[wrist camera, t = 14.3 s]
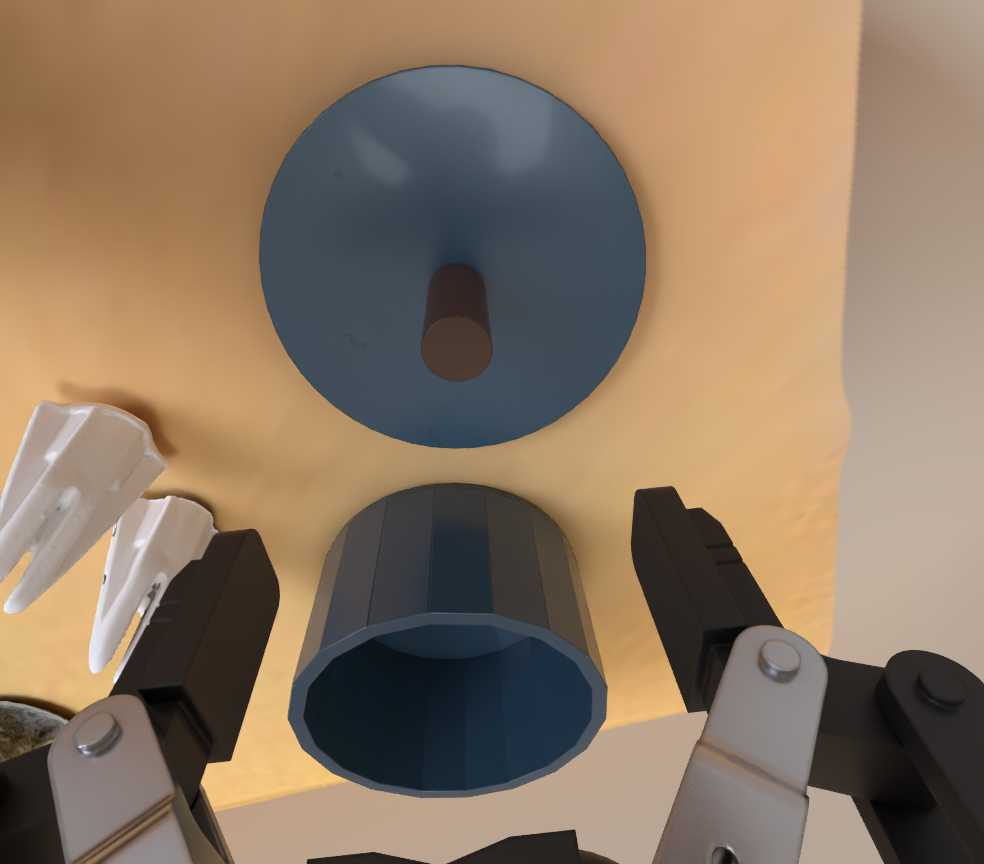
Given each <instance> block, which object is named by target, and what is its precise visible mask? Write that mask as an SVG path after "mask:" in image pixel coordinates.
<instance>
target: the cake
mask: <svg viewBox="0 0 984 864" xmlns="http://www.w3.org/2000/svg"><path fill="white" fill-rule="evenodd" d="M68 722H69V721H68V720H67V719H63V718H62V717H61V716H59V715H56V714H54V713H51V712H48V711H46V710H42V709H40V708H37V707H33V706H28V705H26V704H18V703H17V704H16V703H12V702H8V701H3V702H2V701H0V763H1V762H4V761H6V760H9V759H11V758H14V757H16V756H19V755H22V754H24V753H27V752H29V751H32V750H34V749H37V748H40V747H42V746H45V745H47V744H50V743H52V742H53V741H54V739H55V738H56V736H57V735H58V733H59V732H60V731H61V729H62V728H63V727H64V726H65V725H66V724H67V723H68Z"/></svg>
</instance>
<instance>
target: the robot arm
mask: <svg viewBox="0 0 984 864" xmlns="http://www.w3.org/2000/svg"><path fill="white" fill-rule="evenodd" d="M631 551H632V559H633V564H634V568H635V571H636V574H637V577H638V579H639V582H640V585H641V587H642V590H643V593H644V596H645V598H646V601H647V604H648V606H649V609H650V612H651V614H652V617H653V620H654V622H655V625H656V628H657V631H658V633H659V636H660V639H661V641H662V644H663V647H664V649H665V652H666V655H667V657H668V660H669V663H670V665H671V668H672V671H673V674H674V676H675V679H676V682H677V684H678V687H679V690H680V692H681V695H682V698H683V700H684V703H685V706H686V709H687V711H688V713H691V712H700V711H707V714H708V717H707V721H706V723H705V726H704V729H703V731H702V734H701V737H700V739H699V740H697V742H696V744H695V746H694V749H693V751H692V753H691V756H690V759H689V762H688V764H687V767H686V770H685V773H684V776H683V778H682V781H681V784H680V787H679V789H678V792H677V795H676V798H675V801H674V803H673V806H672V809H671V812H670V814H669V817H668V820H667V823H666V826H665V828H664V831H663V834H662V837H661V840H660V842H659V845H658V848H657V851H656V854H655V857H654V859H653V862H652V864H798V863H799V857H800V853H801V847H802V842H803V836H804V830H805V825H806V820H807V814H808V807H809V797H808V796H807V795H806V792H807V786H812V787H816V788H820V789H825V790H829V791H833V792H837V793H842V794H846V795H850V796H851V797H852V799H853V801H854V803H855V805H856V807H857V809H858V811H859V813H860V815H861V817H862V820H863V822H864V823H865V826H866V828H867V830H868V832H869V834H870V836H871V838H872V840H873V842H874V844H875V846H876V848H877V850H878V852H879V854H880V856H881V858H882V860H883V862H884V864H984V683H983V682H981V680H980V679H979V678H978V677H976V676H975V675H974V674H973V673H972V672H970V671H969V670H968V669H966V668H965V667H963V666H962V665H960V664H958V663H957V662H955V661H952V660H951V659H948V658H946V657H944V656H941V655H938V654H935V653H931V652H927V651H921V650H908V651H902V652H900V653H897V654H895V655H894V656H892V657H891V658H890V659H889V661H888V663H887V665H886V667H885V668H882V667H877V666H871V665H866V664H860V663H854V662H849V661H843V660H838V659H834V658H830V657H827V656H824V655H821V654H820V653H819V652H818V651H817V650H816V648H815V647H814V646H813V645H812V644H810V643H809V642H808V641H807V640H805V639H804V638H803V637H801V636H799V635H798V634H796V633H794V632H792V631H790V630H787V629H785V628H784V627H783V625H782V624H781V623H780V621H779V619H778V618H777V616H776V614H775V613H774V611H773V609H772V608H771V606H770V604H769V603H768V601H767V599H766V598H765V596H764V594H763V592H762V591H761V589H760V587H759V586H758V584H757V582H756V581H755V579H754V577H753V576H752V574H751V572H750V571H749V569H748V567H747V566H746V564H745V563H743V561H742V557H741V556H740V554H739V552H738V551H737V549H736V547H733V542H732V541H731V539H730V537H729V536H728V534H727V532H726V531H725V529H724V527H723V526H722V524H721V523H720V522H719V521H718V520H716V519H715V518H714V517H712V516H711V515H710V514H709V513H707V512H706V511H705V510H704V509H702V508H693V509H686V508H685V506H684V504H683V502H682V500H681V499H680V497H679V495H678V493H677V491H676V490H675V488H674V487H672V486H667V487H657V488H648V489H638V490H636V492H635V496H634V509H633V523H632V536H631ZM279 600H280V590H279V583H278V579H277V576H276V574H275V571H274V569H273V566H272V564H271V561H270V559H269V556H268V554H267V552H266V549H265V547H264V544H263V542H262V539H261V537H260V535H259V533H258V532H257V531H256V530H255V529H246V530H237V531H227V532H218V533H216V534H214V536H213V537H212V539H211V540H210V542H209V544H208V546H207V548H206V550H205V552H204V554H203V556H202V558H201V559H197V560H191V561H190V562H189V563H188V564H187V565H186V566H185V567H184V568H183V569H182V570H181V571H180V572H179V573H178V574H177V575H176V576H175V577H174V578H173V579H172V580H171V581H170V583H169V585H168V586H167V588H166V590H165V592H164V594H163V596H162V598H161V599H160V601H159V607H156V609H155V611H154V613H153V614H152V616H151V618H150V620H149V621H150V624H149V625H147V626H146V627H145V629H144V631H143V633H142V635H141V637H140V639H139V640H138V642H137V644H136V646H135V648H134V650H133V652H132V653H131V655H130V657H129V659H128V661H127V663H126V665H125V667H124V668H123V670H122V672H121V674H120V676H119V678H118V680H117V681H116V683H115V685H114V687H113V689H112V691H111V693H110V694H109V696H108V697H106V698H104V699H101V700H99V701H97V702H95V703H93V704H91V705H89V706H88V707H86V708H85V709H83V710H82V711H80V712H79V713H78V714H77V715H75V716H74V717H73V718H72V719H71V720H70V721H69V722H68V723H67V724H66V725H65V726H64V727H63V728H62V729H61V731H60V732H59V733H58V735H57V736H56V738H55V739H54V741H53V742H52V743H50V744H47V745H45V746H42V747H40V748H37V749H34V750H32V751H29V752H27V753H24V754H22V755H19V756H16V757H14V758H11V759H9V760H6V761H4V762H1V763H0V864H234V861H233V858H232V856H231V853H230V851H229V849H228V846H227V844H226V841H225V839H224V836H223V834H222V831H221V829H220V827H219V824H218V822H217V819H216V817H215V814H214V812H213V810H212V807H211V805H210V802H209V800H208V797H207V795H206V792H205V790H204V788H203V786H202V785H201V780H202V777H203V774H204V771H205V768H206V765H207V763H216V762H225V761H231V758H232V755H233V752H234V748H235V745H236V742H237V739H238V736H239V732H240V729H241V726H242V723H243V720H244V716H245V713H246V710H247V707H248V704H249V700H250V697H251V694H252V691H253V687H254V684H255V681H256V678H257V675H258V671H259V668H260V665H261V662H262V659H263V655H264V652H265V649H266V646H267V643H268V639H269V636H270V633H271V630H272V627H273V623H274V620H275V617H276V614H277V610H278V607H279ZM307 864H429V863H424V862H420V861H415V860H409V859H405V858H400V857H395V856H390V855H386V854H381V853H376V852H370V853H360V854H351V855H342V856H334V857H324V858H316V859H308V860H307ZM447 864H619V863H617V862H615V861H613V860H611V859H609V858H607V857H604V856H601V855H598V854H595V853H593V852H589V851H584V850H579V849H578V843H577V837H576V831H575V830H567V831H558V832H549V833H540V834H530V835H522V836H513V837H508V838H506V839H504V840H501V841H499V842H496V843H494V844H492V845H489V846H487V847H485V848H482V849H480V850H478V851H476V852H473V853H471V854H469V855H466V856H464V857H461V858H459V859H457V860H454V861H452V862H450V863H447Z"/></svg>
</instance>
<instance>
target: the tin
mask: <svg viewBox="0 0 984 864" xmlns="http://www.w3.org/2000/svg"><path fill="white" fill-rule="evenodd" d="M607 689H608V687H607V683H606V679H605V675H604V670H603V666H602V662H601V658H600V654H599V650H598V646H597V642H596V638H595V634H594V630H593V626H592V622H591V617H590V613H589V609H588V605H587V601H586V597H585V593H584V589H583V585H582V581H581V577H580V573H579V568H578V564H577V560H576V558H575V556H574V554H573V553H572V550H571V547H570V545H569V543H568V540H567V538H566V536H565V535H564V534H563V532H562V531H561V529H560V528H559V527H558V525H557V524H556V523H555V522H554V521H553V520H552V519H551V518H550V517H549V516H548V515H546V514H545V513H544V512H542V511H541V510H540V509H538V508H537V507H536V506H534V505H532V504H531V503H529V502H527V501H525V500H523V499H522V498H519V497H517V496H514V495H512V494H509V493H507V492H504V491H500V490H497V489H493V488H490V487H484V486H478V485H471V484H454V483H453V484H434V485H427V486H421V487H416V488H412V489H408V490H404V491H400V492H398V493H395V494H392V495H390V496H387V497H385V498H383V499H381V500H379V501H377V502H375V503H373V504H371V505H369V506H368V507H367V508H365V509H364V510H362V511H361V512H360V513H358V514H357V515H356V516H355V517H354V518H352V519H351V520H350V521H349V522H348V523H347V524H346V525H345V526H344V528H343V529H342V530H341V531H340V533H339V534H338V535H337V537H336V539H335V540H334V542H333V544H332V546H331V548H330V550H329V551H328V553H327V556H326V559H325V563H324V567H323V571H322V574H321V578H320V582H319V586H318V589H317V593H316V597H315V601H314V604H313V608H312V612H311V616H310V619H309V623H308V627H307V631H306V634H305V638H304V642H303V646H302V649H301V653H300V657H299V661H298V664H297V668H296V672H295V676H294V679H293V683H292V689H291V696H290V703H289V710H288V721H289V723H290V725H291V727H292V729H293V731H294V733H295V735H296V737H297V739H298V741H299V743H300V745H301V748H302V749H303V750H304V751H305V752H307V753H308V754H309V755H310V756H312V757H313V758H314V759H315V760H316V761H318V762H319V763H320V764H321V765H323V766H324V767H325V768H326V769H328V770H329V771H330V772H331V773H333V774H335V775H338V776H340V777H342V778H345V779H347V780H350V781H352V782H355V783H357V784H360V785H362V786H365V787H367V788H370V789H374V790H378V791H384V792H390V793H395V794H402V795H407V796H413V797H419V798H449V797H450V798H451V797H472V796H477V795H482V794H488V793H493V792H498V791H504V790H509V789H514V788H516V787H519V786H521V785H524V784H526V783H529V782H531V781H534V780H536V779H539V778H541V777H544V776H546V775H549V774H551V773H553V772H556V771H557V770H558V769H560V768H561V767H562V766H564V765H565V764H567V763H568V762H569V761H571V760H572V759H573V758H575V757H576V756H577V755H579V754H580V753H581V752H583V751H584V750H585V749H587V747H588V746H589V744H590V743H591V741H592V740H593V738H594V737H595V735H596V734H597V732H598V731H599V729H600V728H601V726H602V724H603V723H604V721H605V719H606V710H607Z"/></svg>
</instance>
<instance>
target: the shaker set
mask: <svg viewBox="0 0 984 864" xmlns="http://www.w3.org/2000/svg"><path fill="white" fill-rule="evenodd" d="M168 466H169V462H168V461H167V460H166V459H165V458H164V457H163V456H162V455H161V454H160V453H159V451H158V450H157V448H156V446H155V444H154V442H153V440H152V433H151V431H150V429H149V427H148V425H147V424H146V422H144V421H142V420H140V419H139V418H137V417H136V416H134V415H133V414H131V413H129V412H127V411H125V410H123V409H120V408H117V407H115V406H111V405H108V404H102V403H68V404H63V403H56V402H52V401H42V402H41V403H40V404H38V405H36V406H35V409H34V412H33V415H32V417H31V419H30V421H29V424H28V427H27V429H26V432H25V434H24V437H23V439H22V442H21V444H20V447H19V450H18V453H17V455H16V458H15V460H14V463H13V466H12V468H11V471H10V473H9V476H8V479H7V482H6V485H5V487H4V490H3V493H2V496H1V499H0V583H1V582H2V581H3V580H4V579H5V578H6V577H7V576H8V574H9V573H10V572H11V571H12V569H13V568H14V567H15V565H16V564H17V563H18V562H19V560H20V559H21V557H22V556H23V555H24V554H25V553H27V552H29V551H31V552H32V557H31V560H30V562H29V565H28V567H27V569H26V570H25V572H24V574H23V576H22V578H21V579H20V581H19V582H18V584H17V585H16V587H15V588H14V590H13V592H12V593H11V595H10V597H9V598H8V600H7V601H6V603H5V605H4V611H5V612H6V613H8V614H16V613H20V612H22V611H23V610H25V609H26V608H27V607H28V606H29V605H30V604H32V603H33V602H34V601H35V600H36V599H37V598H39V597H40V596H41V595H42V594H43V593H44V592H45V591H47V590H48V589H49V588H50V587H51V586H52V585H53V584H54V583H55V582H56V581H57V580H59V579H60V578H61V577H62V576H63V575H64V574H65V573H66V572H67V571H68V570H69V569H70V568H71V567H72V566H73V565H74V564H75V563H76V562H77V561H78V560H79V559H80V558H81V557H82V556H83V555H84V554H85V553H86V552H87V551H88V550H89V549H90V548H91V547H92V546H93V545H94V544H95V543H96V542H97V541H98V540H99V539H100V538H101V537H102V536H103V535H104V534H105V533H106V532H107V531H108V530H109V529H110V528H111V527H112V526H113V525H114V529H113V533H112V538H111V543H110V548H109V552H108V556H107V561H106V566H105V571H104V576H103V581H102V586H101V591H100V596H99V602H98V606H97V611H96V616H95V620H94V626H93V632H92V637H91V641H90V650H89V668H90V670H91V671H92V672H93V673H94V674H97V673H99V672H101V671H102V670H103V669H104V668H105V667H106V665H107V664H108V663H109V661H110V660H111V659H112V657H113V655H114V654H115V651H116V649H117V648H118V646H119V644H120V643H121V640H122V638H123V637H124V636H125V633H126V631H127V629H128V627H129V625H130V623H131V621H132V619H133V616H134V614H135V613H136V611H138V612H139V613H140V615H141V620H140V622H139V625H138V627H137V629H136V631H135V634H134V636H133V638H132V640H131V642H130V644H129V646H128V649H127V651H126V653H125V655H124V657H123V659H122V661H121V663H120V666H119V668H118V670H117V672H116V674H115V676H114V679H113V682H114V684H115V683H116V681H117V680H118V678H119V676H120V674H121V672H122V670H123V668H124V667H125V665H126V663H127V661H128V659H129V657H130V655H131V653H132V652H133V650H134V648H135V646H136V644H137V642H138V640H139V639H140V637H141V635H142V633H143V631H144V629H145V627H146V626H147V625H149V624H150V621H149V620H150V618H151V616H152V614H153V613H154V611H155V609H156V607H159V601H160V599H161V598H162V596H163V594H164V592H165V590H166V588H167V586H168V585H169V583H170V581H171V580H172V579H173V578H174V577H175V576H176V575H177V574H178V573H179V572H180V571H181V570H182V569H183V568H184V567H185V566H186V565H187V564H188V563H189V562H190V561H191V560H197V559H201V558H202V556H203V554H204V552H205V550H206V548H207V546H208V544H209V542H210V540H211V539H212V537H213V536H214V534H216V533H218V530H216V529H214V525H213V522H214V521H213V516H212V514H211V513H210V512H209V511H207V510H206V509H205V508H204V507H202V506H201V505H200V504H196V503H195V502H194V501H190V500H188V499H183V498H177V497H175V496H167V497H166V498H165V499H162V498H161V499H157V500H146V499H144V498H139V497H140V496H141V495H142V494H143V493H144V492H145V491H146V489H147V488H148V487H149V486H150V485H151V484H152V483H153V482H154V481H155V479H156V478H157V477H158V476H159V475H160V474H161V473H162V472H163V471H165V470H166V468H167V467H168Z"/></svg>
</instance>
